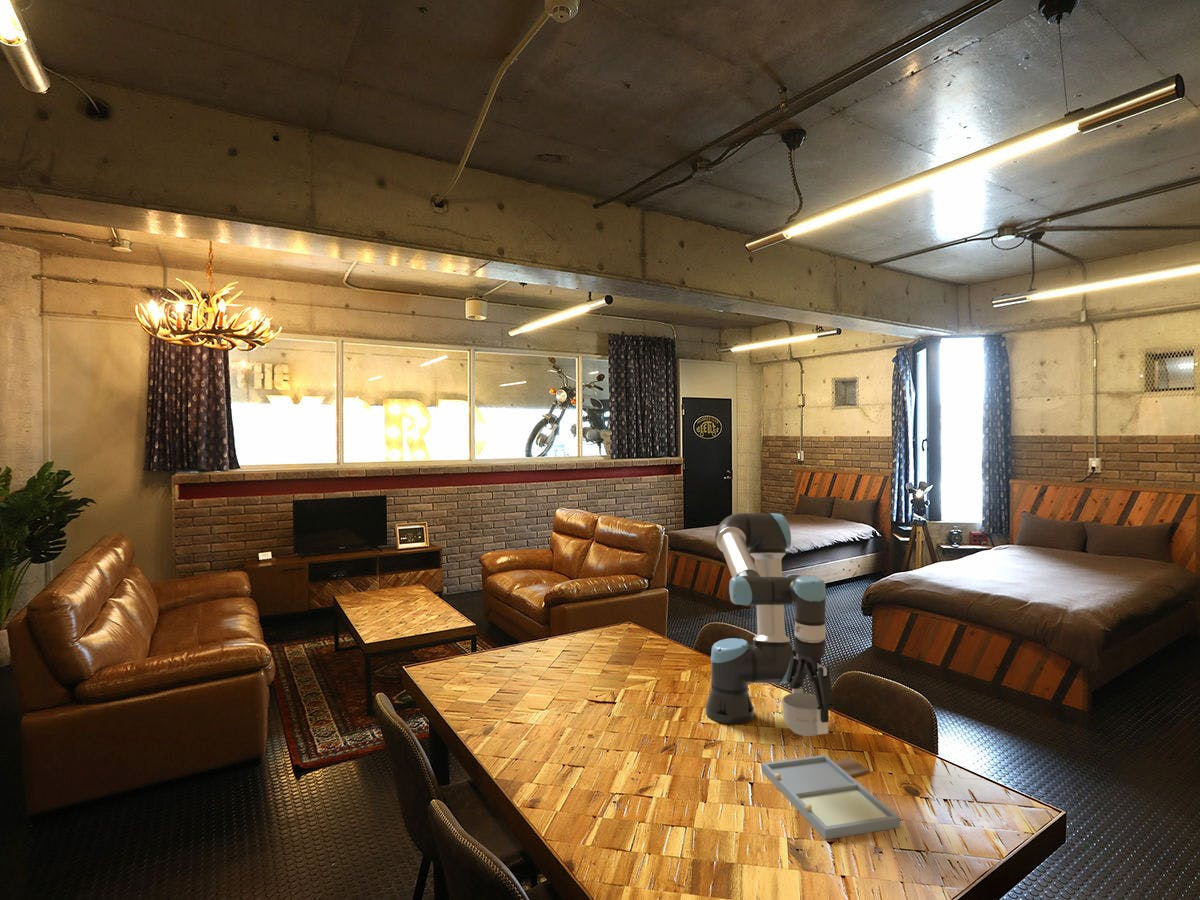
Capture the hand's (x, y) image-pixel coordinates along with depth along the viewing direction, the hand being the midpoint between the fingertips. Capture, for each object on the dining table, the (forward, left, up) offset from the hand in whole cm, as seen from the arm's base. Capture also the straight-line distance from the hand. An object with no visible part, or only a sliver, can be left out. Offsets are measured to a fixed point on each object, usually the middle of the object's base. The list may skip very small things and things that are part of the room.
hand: (809, 722), depth 158 cm
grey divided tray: (+7, 0, -15) cm, 17 cm away
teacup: (0, 0, -2) cm, 2 cm away
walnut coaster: (-3, +14, -16) cm, 21 cm away
